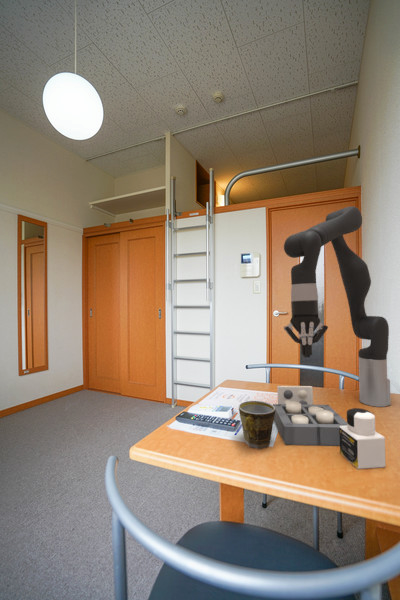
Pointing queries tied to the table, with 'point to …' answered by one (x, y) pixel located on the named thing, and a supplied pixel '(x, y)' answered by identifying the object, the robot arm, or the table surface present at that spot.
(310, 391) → the card
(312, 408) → the button
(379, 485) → the table surface
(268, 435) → the ceramic cup
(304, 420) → the button
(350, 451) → the medicine bottle
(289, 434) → the board
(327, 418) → the button
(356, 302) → the robot arm
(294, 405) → the button
